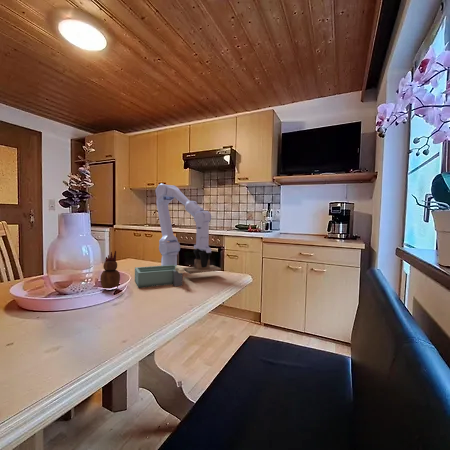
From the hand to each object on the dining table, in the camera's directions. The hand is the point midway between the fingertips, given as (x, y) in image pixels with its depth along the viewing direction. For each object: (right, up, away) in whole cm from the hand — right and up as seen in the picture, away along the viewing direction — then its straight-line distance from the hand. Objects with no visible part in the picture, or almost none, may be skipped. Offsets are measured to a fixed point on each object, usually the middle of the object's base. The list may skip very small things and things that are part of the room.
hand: (202, 266), depth 120 cm
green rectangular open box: (-17, -6, -10) cm, 21 cm away
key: (-8, 0, -15) cm, 17 cm away
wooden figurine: (-34, -6, -20) cm, 40 cm away
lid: (0, -2, 0) cm, 2 cm away
